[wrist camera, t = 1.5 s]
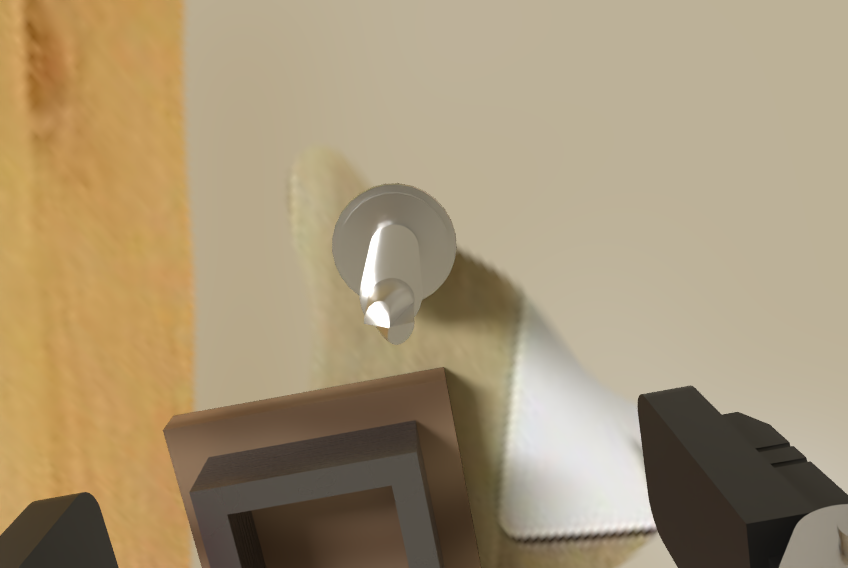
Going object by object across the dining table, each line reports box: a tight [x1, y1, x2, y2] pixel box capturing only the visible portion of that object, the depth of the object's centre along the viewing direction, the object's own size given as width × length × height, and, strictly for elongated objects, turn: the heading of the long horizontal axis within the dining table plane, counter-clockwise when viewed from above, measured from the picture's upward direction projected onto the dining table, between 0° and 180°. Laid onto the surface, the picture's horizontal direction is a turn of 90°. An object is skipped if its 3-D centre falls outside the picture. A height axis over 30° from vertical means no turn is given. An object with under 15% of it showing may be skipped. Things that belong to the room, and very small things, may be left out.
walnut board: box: [163, 367, 481, 568], centre depth 35 cm, size 12×12×2 cm
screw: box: [332, 183, 457, 345], centre depth 26 cm, size 13×5×5 cm
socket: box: [189, 420, 445, 568], centre depth 32 cm, size 9×9×3 cm
